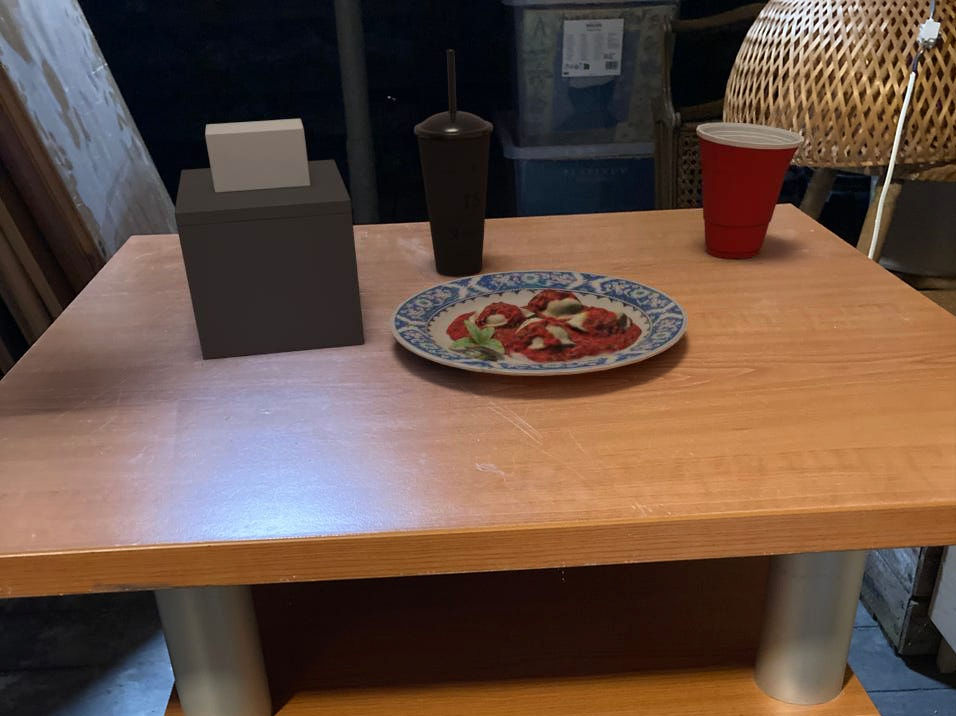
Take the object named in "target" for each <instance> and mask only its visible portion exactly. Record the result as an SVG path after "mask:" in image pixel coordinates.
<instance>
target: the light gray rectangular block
mask: <svg viewBox="0 0 956 716" xmlns="http://www.w3.org/2000/svg"><path fill="white" fill-rule="evenodd" d="M204 137H205V143H206V147H207V154H208V159H209V165H210V168H211V172H212V177H213V183H214V189H215V193H221V192H235V191H248V190H262V189H276V188H289V187H303V186H310V177H309V169H308V161H309V160H308V153H307V144H306V137H305V129H304V125H303V122H302V119H301V118H290V119H289V118H288V119H287V118H285V119H273V120H271V119H270V120H257V121H256V120H255V121H242V122H226V123H209V124H208V123H207V124H206V125H205V134H204Z"/></svg>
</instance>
